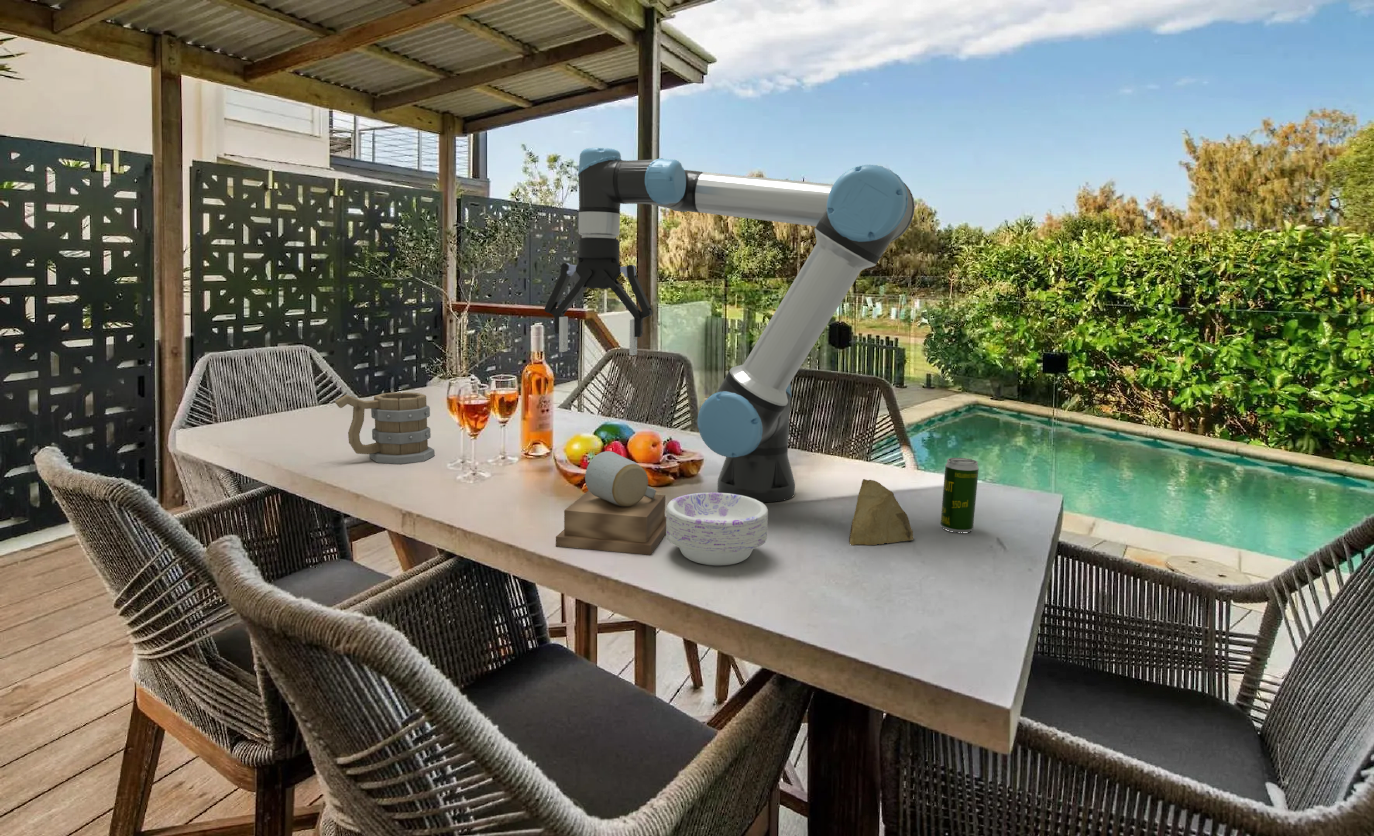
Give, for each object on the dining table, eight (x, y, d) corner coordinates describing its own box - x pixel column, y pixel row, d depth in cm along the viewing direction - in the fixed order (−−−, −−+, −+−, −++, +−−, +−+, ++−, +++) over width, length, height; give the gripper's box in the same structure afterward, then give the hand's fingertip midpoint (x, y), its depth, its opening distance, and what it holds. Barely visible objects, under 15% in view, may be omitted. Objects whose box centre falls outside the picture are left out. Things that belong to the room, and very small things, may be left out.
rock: (918, 520, 135) (859, 505, 138) (925, 489, 129) (863, 474, 132) (905, 573, 128) (843, 556, 131) (912, 543, 122) (846, 526, 125)
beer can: (964, 524, 141) (970, 457, 139) (978, 534, 136) (985, 464, 134) (935, 524, 141) (940, 457, 138) (947, 534, 135) (953, 464, 133)
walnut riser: (671, 525, 136) (672, 493, 135) (650, 554, 121) (651, 519, 120) (586, 518, 138) (586, 487, 138) (555, 545, 124) (555, 511, 123)
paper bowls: (706, 581, 111) (708, 526, 110) (646, 549, 124) (647, 499, 122) (787, 561, 120) (789, 509, 119) (723, 533, 132) (725, 486, 131)
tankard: (420, 449, 188) (418, 385, 186) (440, 459, 178) (439, 392, 176) (329, 459, 176) (326, 391, 173) (346, 471, 166) (343, 399, 164)
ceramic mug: (613, 512, 123) (614, 463, 122) (583, 500, 129) (584, 453, 128) (666, 502, 130) (668, 455, 129) (636, 491, 136) (637, 446, 135)
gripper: (669, 239, 149) (667, 354, 153) (541, 237, 154) (542, 348, 157) (660, 237, 142) (658, 358, 146) (526, 235, 146) (527, 351, 150)
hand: (598, 353), depth 151 cm, fingers open, 13 cm apart
